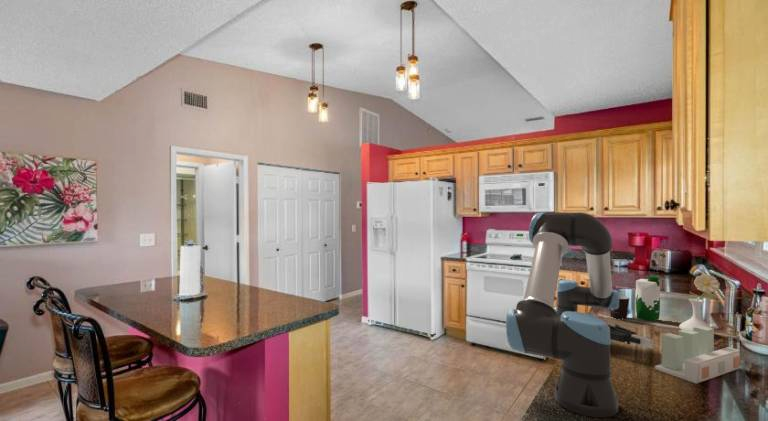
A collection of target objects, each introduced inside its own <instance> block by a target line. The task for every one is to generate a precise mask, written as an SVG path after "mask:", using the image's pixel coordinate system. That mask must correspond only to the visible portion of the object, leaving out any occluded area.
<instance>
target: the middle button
mask: <svg viewBox="0 0 768 421" xmlns="http://www.w3.org/2000/svg"><path fill="white" fill-rule="evenodd" d="M677 335H679V336H682V337H683V362H684V363H685V360H686V359H690V358H693V357H696V356H699V333H698V332H694V331H690V330H687V329H683V330H681V329H680V330H678V331H677Z"/></svg>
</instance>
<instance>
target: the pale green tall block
mask: <svg viewBox="0 0 768 421" xmlns="http://www.w3.org/2000/svg"><path fill="white" fill-rule="evenodd" d="M661 364H662V366H665V367H668V368H671V369H674V370H678V369H681V368H683V337H682V336H679V335H678V334H675V333H671V332H668V333H667V332H666V333H663V334H661Z"/></svg>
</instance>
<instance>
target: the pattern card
mask: <svg viewBox="0 0 768 421" xmlns="http://www.w3.org/2000/svg"><path fill="white" fill-rule="evenodd" d="M739 366H740V367H741V355H740V356H739V353H738V352H737V353H734V354H731V355H728V356H725V357H721V358H718V359H715V360H712V361H709V362H706V363H702V364H699V381H700V383H702V381H703V382H705V381H709V380H711V379H714V378H716V376H717V377H720V376H722V375H725V374H728V373H730V372H733V370H734V371H736V369H737V370H740V368H739ZM719 375H720V376H719ZM713 377H714V378H713Z"/></svg>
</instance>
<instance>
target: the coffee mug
mask: <svg viewBox="0 0 768 421" xmlns="http://www.w3.org/2000/svg"><path fill="white" fill-rule="evenodd" d="M629 304H630V296H625V295H622V294H619V308H618V309H609V314H610V318H611V317H613V318H612V319H614V318H616V319H615V320H618V319H622V318H623V319H626V318H628V312H629V310H628V309H629ZM626 320H627V319H626Z"/></svg>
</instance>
